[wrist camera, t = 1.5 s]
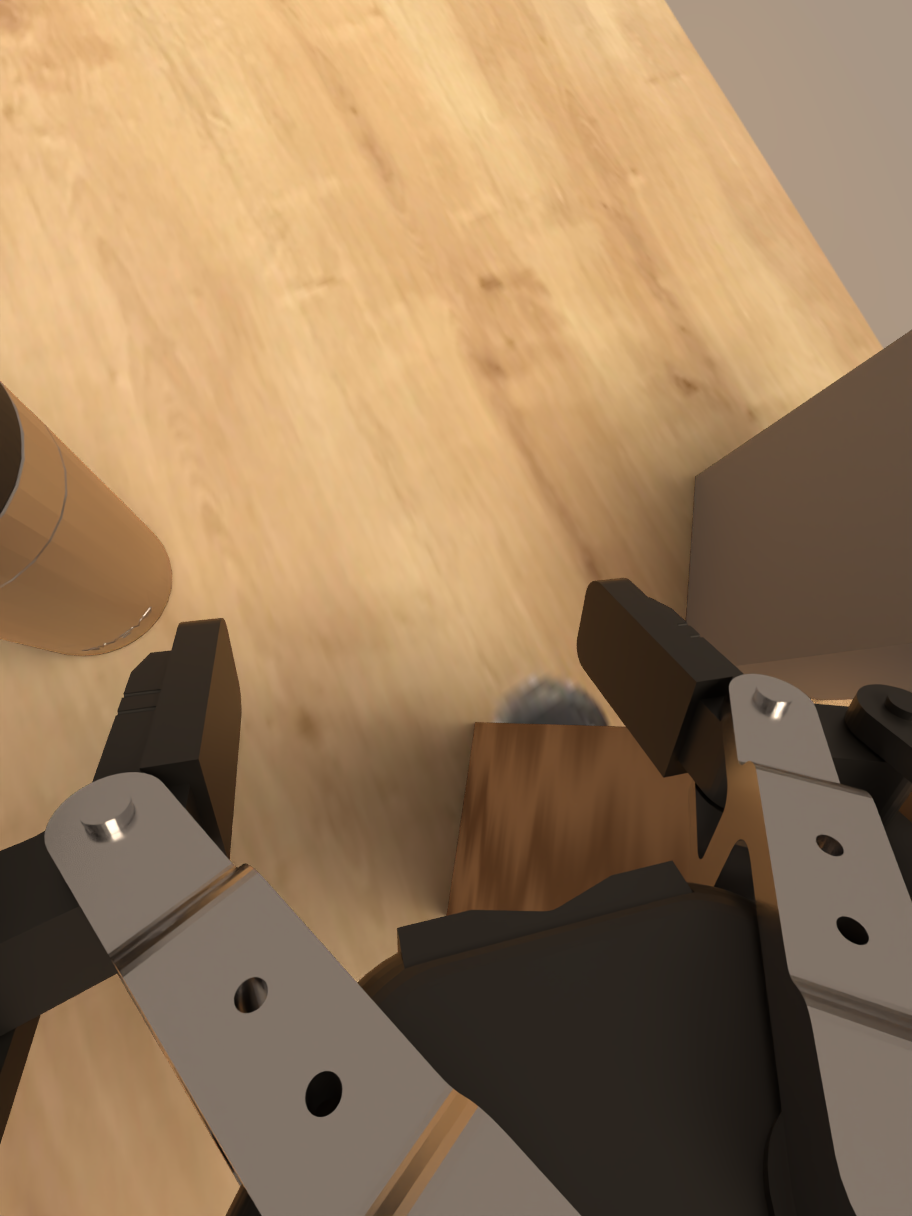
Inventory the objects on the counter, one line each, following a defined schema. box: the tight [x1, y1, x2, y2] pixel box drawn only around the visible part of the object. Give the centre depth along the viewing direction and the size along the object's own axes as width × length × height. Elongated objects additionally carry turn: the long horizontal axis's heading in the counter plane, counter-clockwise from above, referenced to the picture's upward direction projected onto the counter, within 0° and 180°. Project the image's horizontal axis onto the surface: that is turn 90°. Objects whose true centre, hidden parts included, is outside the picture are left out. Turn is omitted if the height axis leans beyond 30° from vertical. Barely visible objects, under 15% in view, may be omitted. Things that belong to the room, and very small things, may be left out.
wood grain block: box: [447, 722, 912, 916], centre depth 23 cm, size 12×10×30 cm
